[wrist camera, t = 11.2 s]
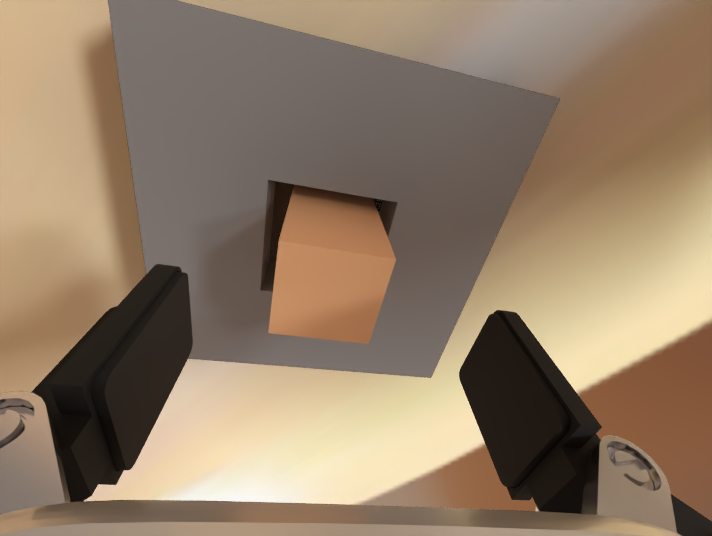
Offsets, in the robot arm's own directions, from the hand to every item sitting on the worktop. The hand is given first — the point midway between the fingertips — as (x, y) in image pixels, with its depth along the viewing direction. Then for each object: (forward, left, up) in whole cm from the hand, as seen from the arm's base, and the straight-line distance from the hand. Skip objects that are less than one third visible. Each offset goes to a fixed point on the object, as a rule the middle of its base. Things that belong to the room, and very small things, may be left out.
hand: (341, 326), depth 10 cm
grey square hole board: (0, 0, -9) cm, 9 cm away
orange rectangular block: (0, 0, -9) cm, 9 cm away
